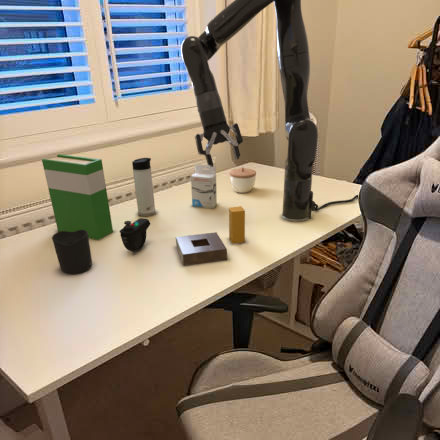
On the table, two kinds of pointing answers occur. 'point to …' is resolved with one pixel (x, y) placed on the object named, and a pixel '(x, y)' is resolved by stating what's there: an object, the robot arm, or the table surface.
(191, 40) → the robot arm
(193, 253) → the walnut stand
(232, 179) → the trinket box
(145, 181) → the travel mug
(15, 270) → the table surface
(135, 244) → the controller
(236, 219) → the ochre peg
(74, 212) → the hardback book
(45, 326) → the table surface
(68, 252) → the pen holder
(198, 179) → the ink box
